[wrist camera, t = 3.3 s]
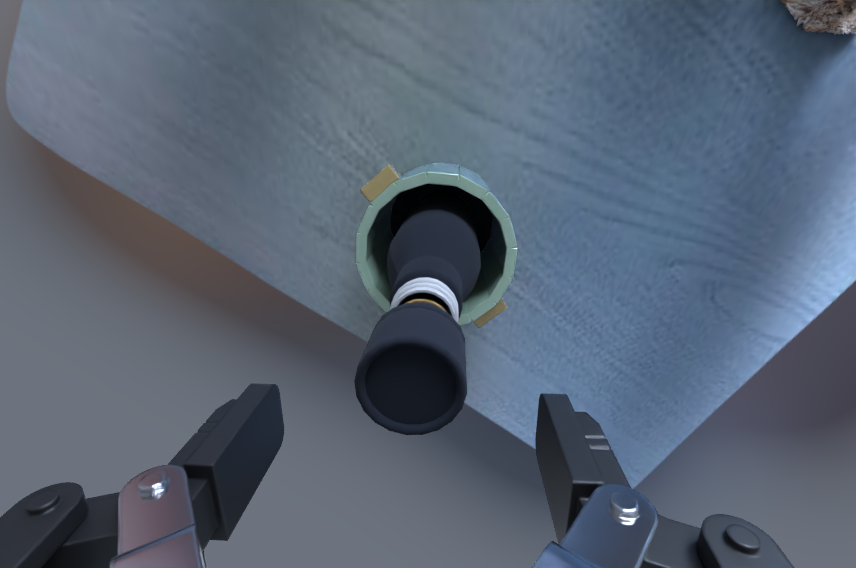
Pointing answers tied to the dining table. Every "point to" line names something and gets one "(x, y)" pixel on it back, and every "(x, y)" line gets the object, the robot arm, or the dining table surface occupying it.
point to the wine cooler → (378, 237)
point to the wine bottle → (422, 320)
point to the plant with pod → (824, 15)
